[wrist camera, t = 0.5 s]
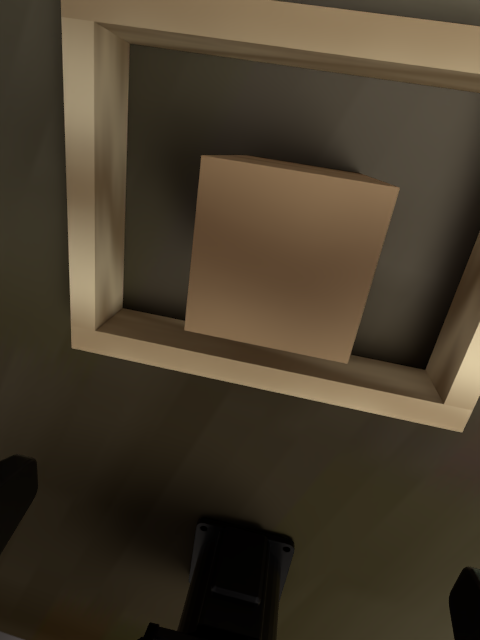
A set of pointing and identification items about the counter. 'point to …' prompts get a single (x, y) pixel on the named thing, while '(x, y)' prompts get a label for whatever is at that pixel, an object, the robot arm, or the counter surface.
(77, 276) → the beige flat rectangular frame
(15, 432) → the counter surface
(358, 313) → the walnut block
